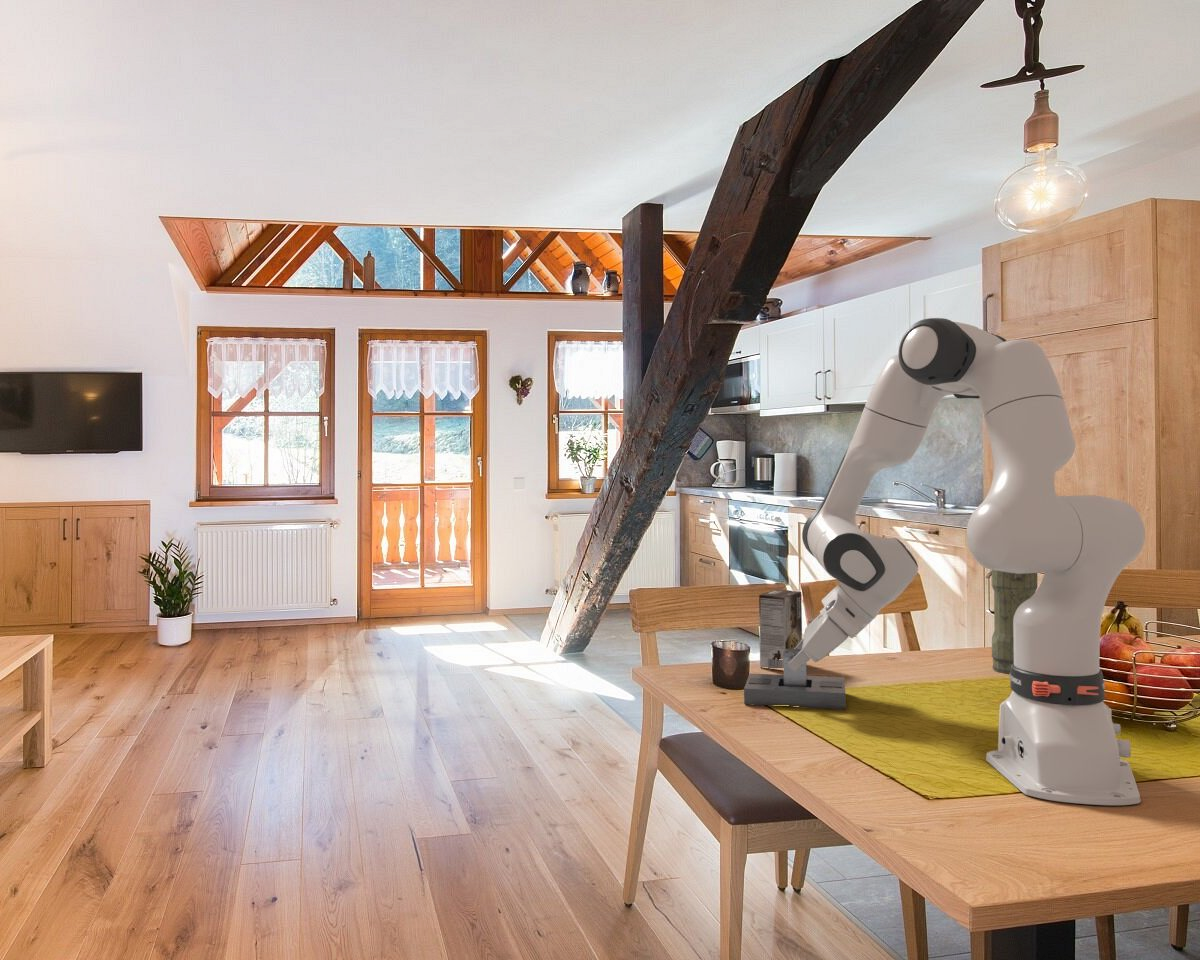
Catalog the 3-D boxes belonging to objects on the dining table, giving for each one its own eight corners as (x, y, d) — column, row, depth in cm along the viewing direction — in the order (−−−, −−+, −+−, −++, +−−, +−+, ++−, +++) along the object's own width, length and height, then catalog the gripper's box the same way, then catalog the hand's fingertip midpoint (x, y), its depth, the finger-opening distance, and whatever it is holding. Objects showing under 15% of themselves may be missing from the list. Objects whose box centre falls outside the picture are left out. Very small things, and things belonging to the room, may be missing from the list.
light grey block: (806, 702, 164) (805, 654, 164) (783, 701, 165) (783, 653, 165) (807, 696, 168) (806, 649, 168) (784, 695, 169) (784, 648, 169)
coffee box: (776, 660, 200) (775, 588, 199) (803, 663, 196) (802, 590, 196) (758, 668, 192) (757, 594, 192) (786, 672, 188) (785, 596, 188)
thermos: (1027, 664, 192) (1026, 502, 191) (1047, 677, 180) (1045, 505, 180) (984, 663, 193) (983, 502, 193) (1001, 676, 182) (999, 505, 181)
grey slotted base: (845, 709, 159) (845, 692, 159) (744, 704, 163) (743, 687, 163) (844, 693, 170) (844, 676, 170) (749, 688, 175) (749, 672, 175)
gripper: (832, 591, 175) (782, 639, 178) (832, 608, 155) (776, 661, 158) (856, 614, 174) (805, 662, 176) (859, 634, 154) (802, 687, 157)
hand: (791, 662), depth 167 cm, fingers open, 7 cm apart
